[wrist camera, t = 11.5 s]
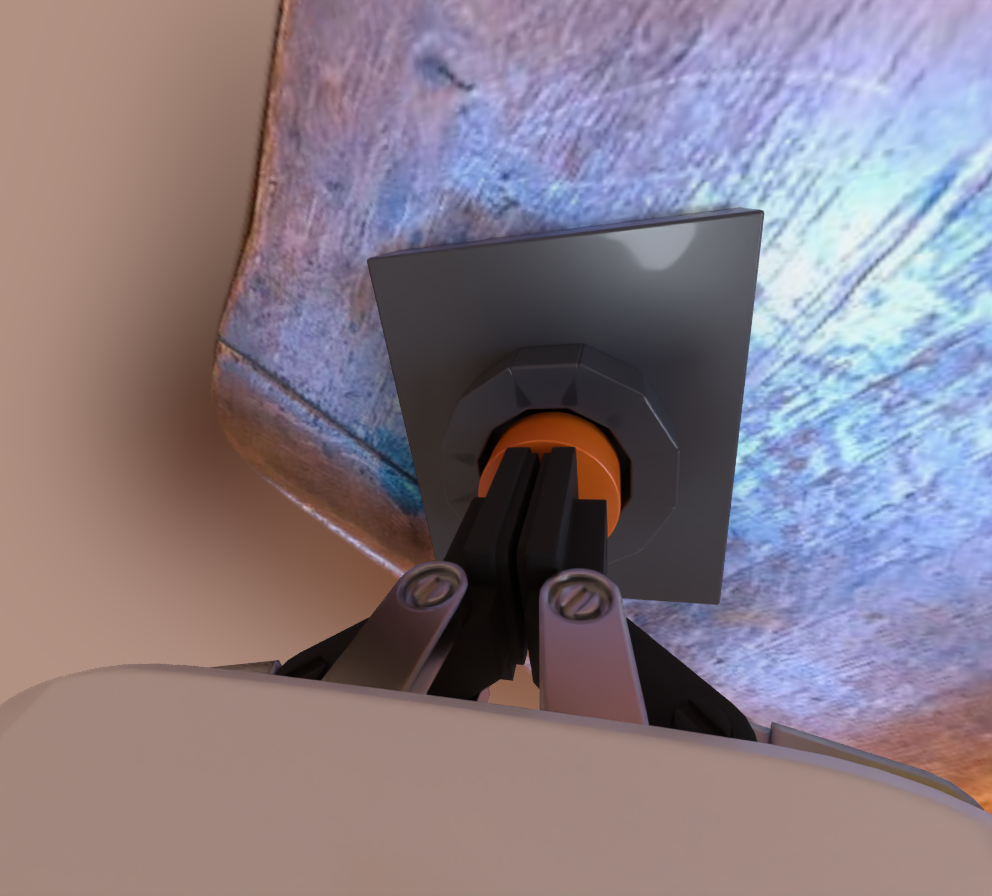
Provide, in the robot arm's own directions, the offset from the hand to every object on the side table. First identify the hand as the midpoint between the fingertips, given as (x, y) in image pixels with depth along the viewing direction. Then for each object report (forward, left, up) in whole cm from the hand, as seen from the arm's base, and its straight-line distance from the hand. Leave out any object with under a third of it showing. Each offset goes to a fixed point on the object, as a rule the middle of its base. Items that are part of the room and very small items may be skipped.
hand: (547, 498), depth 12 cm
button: (0, 0, -2) cm, 2 cm away
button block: (0, 0, -5) cm, 5 cm away
